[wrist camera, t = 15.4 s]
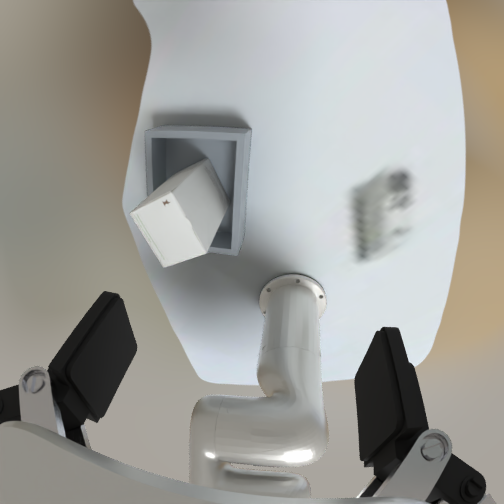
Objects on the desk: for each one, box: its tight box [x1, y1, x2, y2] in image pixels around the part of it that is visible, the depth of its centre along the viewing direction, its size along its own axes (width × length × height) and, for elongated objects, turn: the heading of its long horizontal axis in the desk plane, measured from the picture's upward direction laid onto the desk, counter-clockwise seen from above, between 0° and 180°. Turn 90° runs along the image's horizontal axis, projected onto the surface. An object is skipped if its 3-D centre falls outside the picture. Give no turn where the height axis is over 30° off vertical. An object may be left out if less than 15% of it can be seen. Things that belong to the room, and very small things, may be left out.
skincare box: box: [130, 158, 230, 268], centre depth 38 cm, size 8×7×16 cm
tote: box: [145, 125, 252, 256], centre depth 42 cm, size 18×14×6 cm
